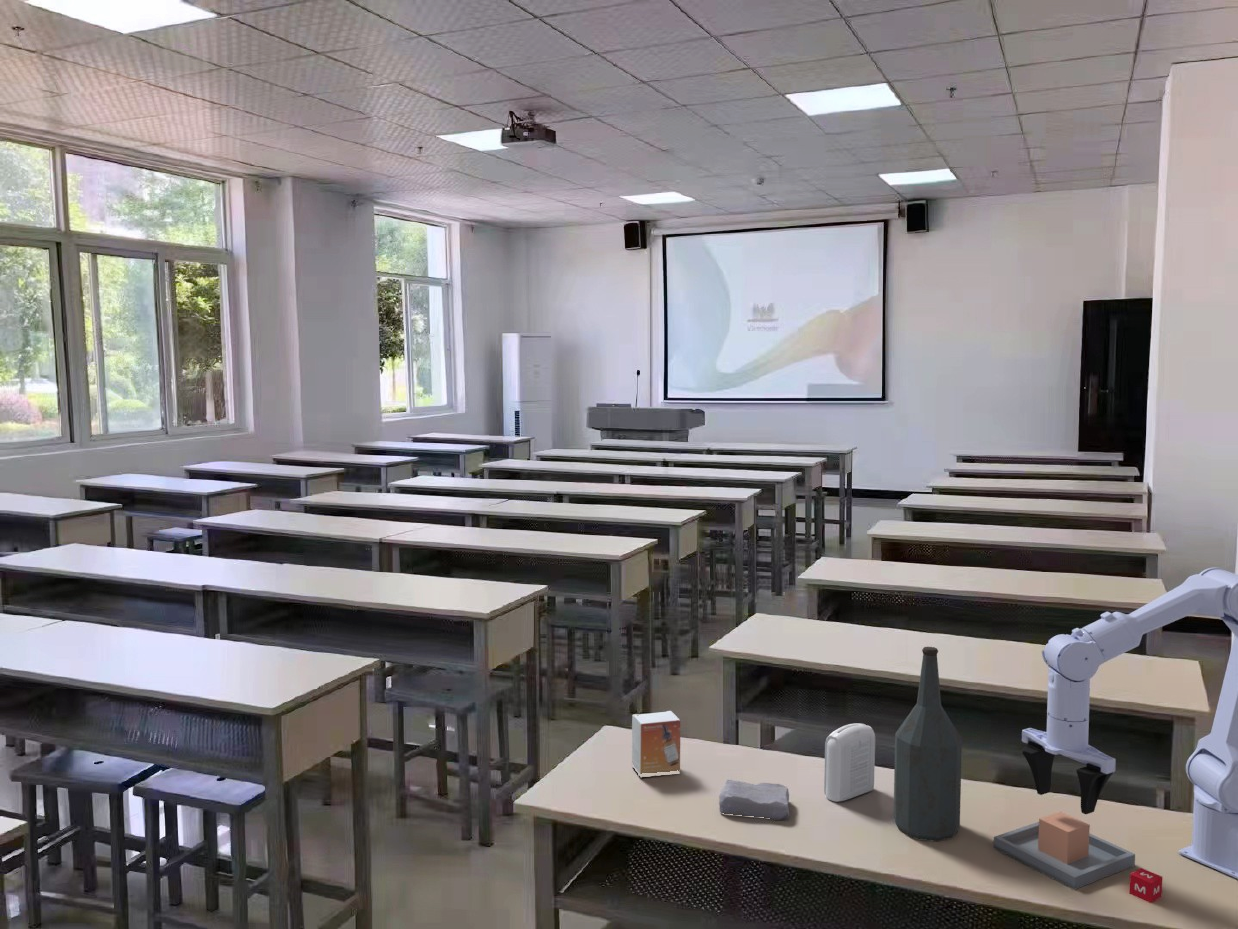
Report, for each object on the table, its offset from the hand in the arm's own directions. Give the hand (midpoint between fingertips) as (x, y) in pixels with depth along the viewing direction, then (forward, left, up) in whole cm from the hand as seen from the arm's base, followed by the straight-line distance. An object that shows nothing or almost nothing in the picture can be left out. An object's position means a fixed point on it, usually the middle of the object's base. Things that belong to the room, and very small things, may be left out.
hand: (1065, 802), depth 144 cm
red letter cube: (-13, 0, -9) cm, 16 cm away
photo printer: (+33, +13, -9) cm, 37 cm away
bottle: (+17, +11, -9) cm, 22 cm away
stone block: (+37, +31, -9) cm, 49 cm away
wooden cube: (0, 0, -8) cm, 8 cm away
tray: (0, 0, -9) cm, 9 cm away
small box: (+58, +38, -9) cm, 70 cm away
